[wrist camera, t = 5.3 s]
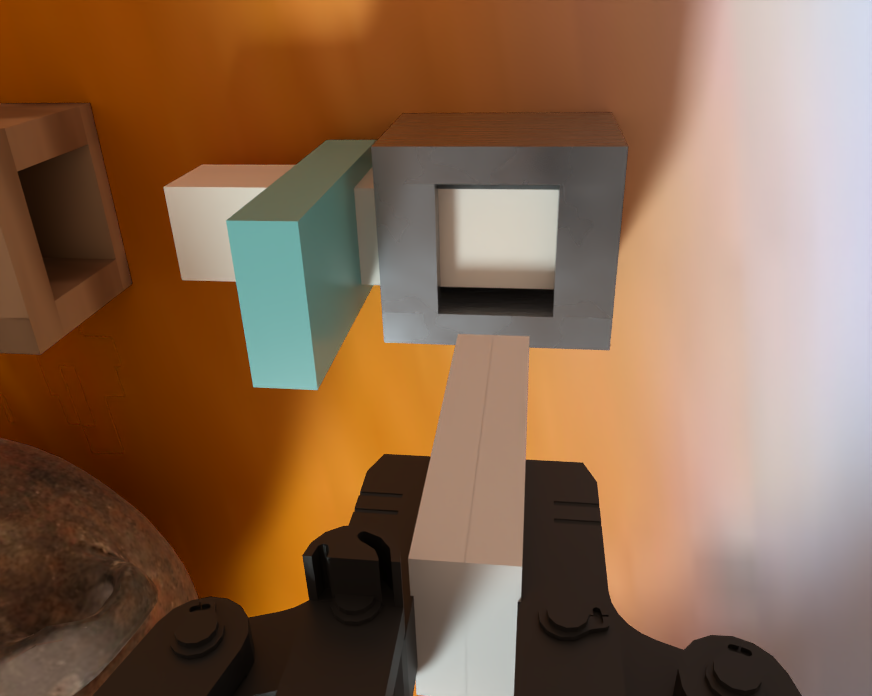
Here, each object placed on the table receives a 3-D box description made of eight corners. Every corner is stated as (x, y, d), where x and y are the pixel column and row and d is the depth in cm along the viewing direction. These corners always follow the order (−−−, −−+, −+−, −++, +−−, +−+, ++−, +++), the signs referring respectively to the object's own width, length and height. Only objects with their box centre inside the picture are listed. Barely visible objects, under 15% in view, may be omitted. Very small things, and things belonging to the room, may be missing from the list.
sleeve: (611, 112, 28) (628, 146, 22) (597, 284, 31) (609, 350, 25) (402, 113, 29) (371, 146, 23) (410, 280, 32) (384, 342, 26)
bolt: (610, 139, 28) (645, 226, 18) (600, 268, 30) (626, 403, 21) (206, 139, 30) (53, 218, 20) (227, 261, 32) (98, 380, 23)
